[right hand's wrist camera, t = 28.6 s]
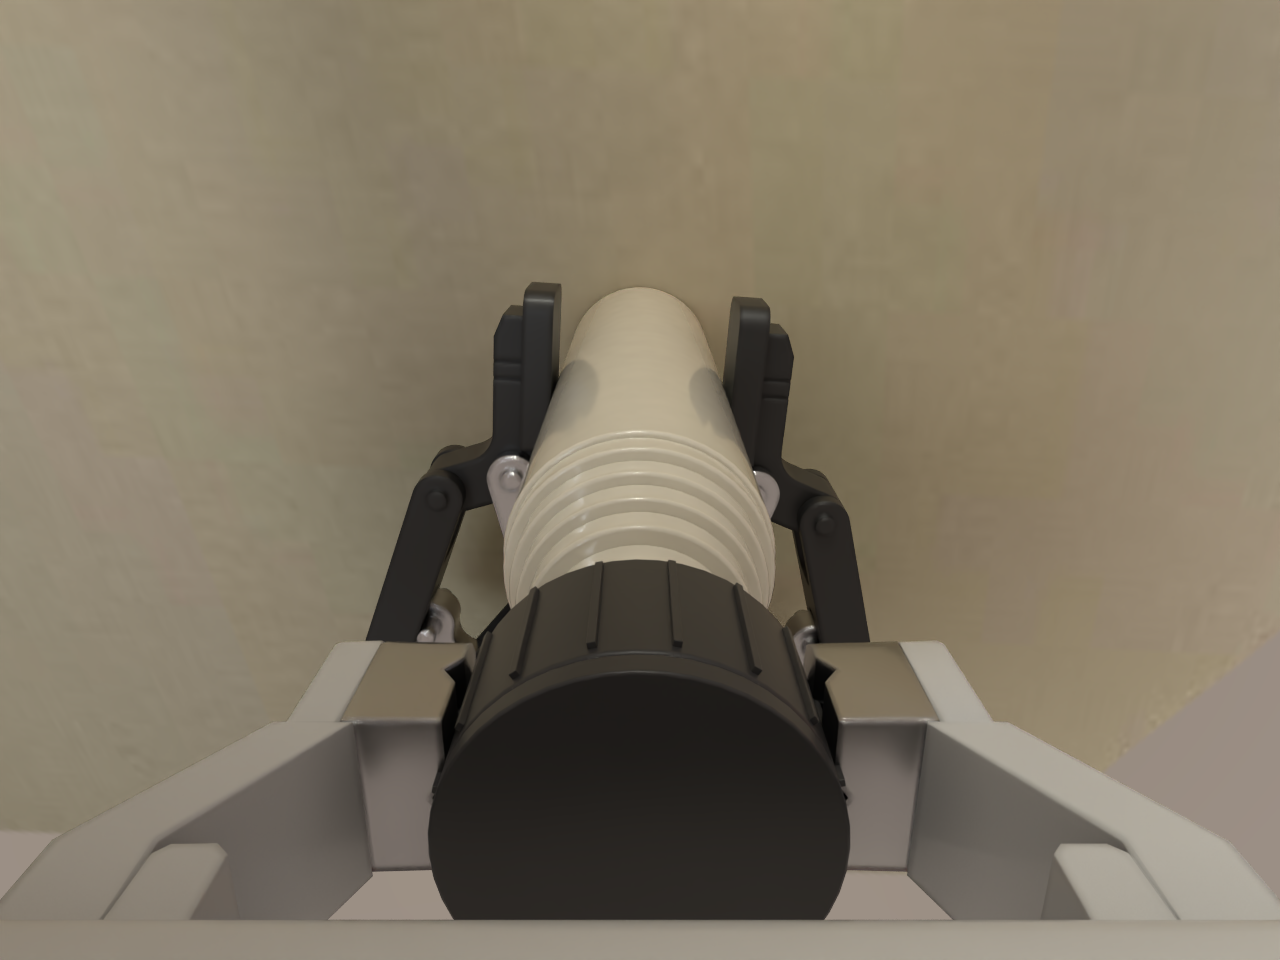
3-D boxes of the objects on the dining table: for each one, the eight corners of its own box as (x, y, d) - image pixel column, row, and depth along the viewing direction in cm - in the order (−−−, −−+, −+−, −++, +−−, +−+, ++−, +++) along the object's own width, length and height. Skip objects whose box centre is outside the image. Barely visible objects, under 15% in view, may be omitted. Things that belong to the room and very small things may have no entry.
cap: (483, 846, 11) (445, 1013, 9) (453, 558, 9) (400, 672, 7) (802, 842, 11) (842, 1007, 9) (818, 550, 9) (869, 663, 7)
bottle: (558, 300, 27) (374, 638, 8) (695, 275, 27) (826, 563, 8) (586, 431, 28) (484, 972, 10) (717, 408, 28) (871, 918, 9)
